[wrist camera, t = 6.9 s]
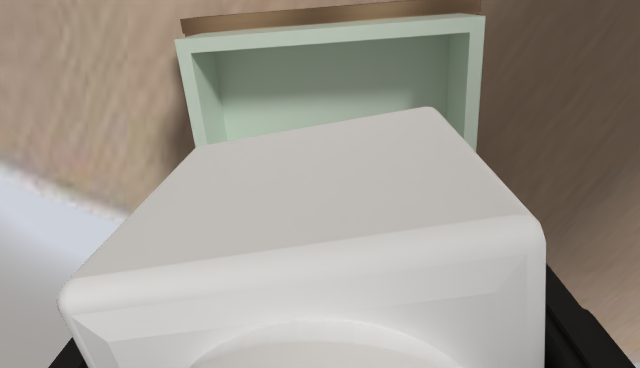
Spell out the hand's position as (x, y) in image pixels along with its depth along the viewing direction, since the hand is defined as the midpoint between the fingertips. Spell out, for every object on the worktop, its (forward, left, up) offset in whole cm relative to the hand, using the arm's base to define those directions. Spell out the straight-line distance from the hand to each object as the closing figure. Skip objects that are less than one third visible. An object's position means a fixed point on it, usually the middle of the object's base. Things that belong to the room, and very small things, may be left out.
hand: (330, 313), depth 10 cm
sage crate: (0, 0, -15) cm, 15 cm away
